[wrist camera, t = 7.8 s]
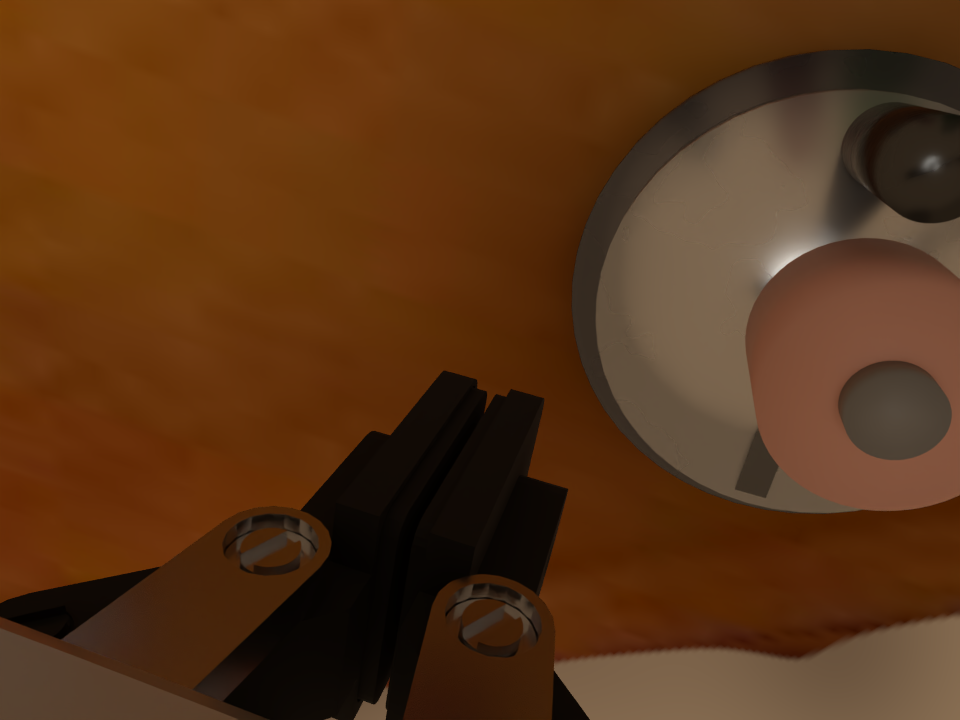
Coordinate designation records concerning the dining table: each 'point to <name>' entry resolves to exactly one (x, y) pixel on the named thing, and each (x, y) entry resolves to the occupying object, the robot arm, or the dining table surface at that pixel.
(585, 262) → the base
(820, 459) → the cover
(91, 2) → the dining table surface
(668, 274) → the turntable
